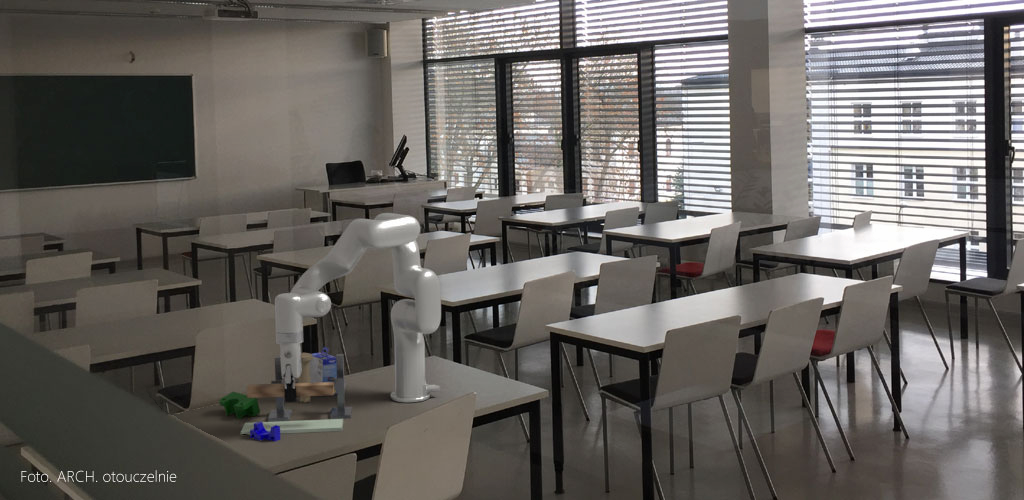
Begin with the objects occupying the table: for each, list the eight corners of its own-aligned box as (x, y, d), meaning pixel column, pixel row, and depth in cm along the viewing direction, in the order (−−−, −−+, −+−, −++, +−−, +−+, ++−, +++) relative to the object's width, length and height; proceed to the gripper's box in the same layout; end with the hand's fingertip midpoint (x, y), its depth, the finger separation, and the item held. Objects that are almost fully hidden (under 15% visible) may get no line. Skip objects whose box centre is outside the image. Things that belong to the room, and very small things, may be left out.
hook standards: (351, 410, 288) (350, 352, 286) (350, 419, 279) (348, 360, 277) (271, 413, 285) (269, 355, 283) (267, 422, 276) (265, 362, 274)
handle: (303, 405, 293) (301, 358, 291) (293, 400, 298) (291, 354, 296) (317, 402, 296) (315, 355, 294) (307, 397, 301) (305, 351, 299)
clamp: (228, 428, 285) (214, 401, 285) (244, 418, 290) (230, 392, 289) (248, 421, 277) (233, 394, 277) (263, 411, 282) (249, 384, 281)
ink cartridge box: (338, 393, 306) (337, 350, 304) (323, 396, 302) (321, 352, 300) (324, 387, 313) (323, 344, 311) (309, 390, 310) (307, 347, 308)
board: (343, 422, 277) (343, 418, 277) (341, 430, 269) (341, 427, 269) (245, 426, 273) (245, 422, 273) (240, 435, 265) (240, 431, 265)
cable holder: (250, 438, 263) (249, 425, 262) (259, 435, 266) (258, 421, 265) (271, 443, 259) (270, 429, 258) (280, 440, 262) (279, 426, 261)
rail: (334, 392, 272) (333, 382, 272) (333, 395, 270) (333, 384, 269) (248, 394, 270) (248, 384, 269) (247, 397, 267) (246, 387, 266)
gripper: (300, 343, 260) (301, 408, 262) (305, 330, 276) (307, 391, 278) (272, 343, 259) (274, 408, 261) (279, 331, 275) (281, 392, 277)
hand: (291, 399), depth 270 cm, fingers closed on rail, 3 cm apart
